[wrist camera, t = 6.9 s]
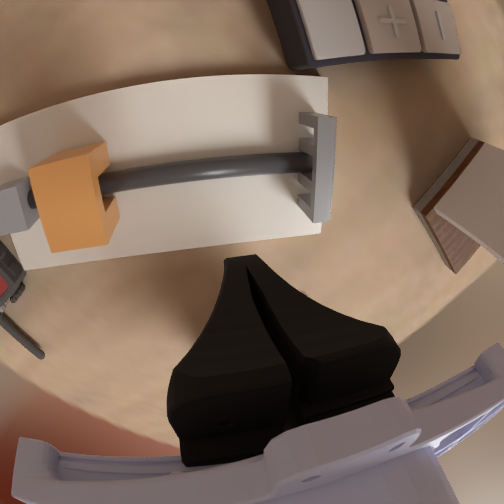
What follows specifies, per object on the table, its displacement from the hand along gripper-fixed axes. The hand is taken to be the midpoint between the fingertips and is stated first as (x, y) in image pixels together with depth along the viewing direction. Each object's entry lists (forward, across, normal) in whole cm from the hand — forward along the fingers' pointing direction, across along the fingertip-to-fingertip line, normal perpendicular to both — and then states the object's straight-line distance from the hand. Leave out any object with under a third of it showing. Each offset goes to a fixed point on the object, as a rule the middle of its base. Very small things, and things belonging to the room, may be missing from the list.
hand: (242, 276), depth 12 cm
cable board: (+10, +5, -2) cm, 12 cm away
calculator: (+11, -11, -16) cm, 22 cm away
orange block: (+9, +9, -2) cm, 13 cm away
